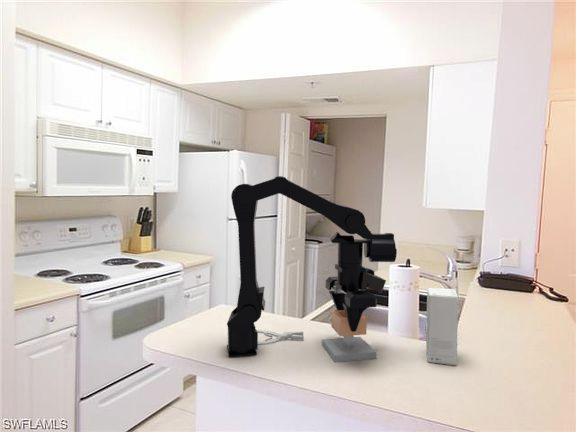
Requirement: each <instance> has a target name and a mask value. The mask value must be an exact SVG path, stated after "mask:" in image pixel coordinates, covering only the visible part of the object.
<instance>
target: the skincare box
mask: <svg viewBox="0 0 576 432" xmlns="http://www.w3.org/2000/svg"><path fill="white" fill-rule="evenodd" d="M456 291H457V290H456V289H454V288H440V287H438V288H437V287H427V292H426V298H427V299H426V356H427V357H426V358H427V362H428V363H434V364H441V365H450V366H457V364H458V324H459V323H458V321H459V319H458V316H459V314H458V313H459V296H458V294H457V292H456Z"/></svg>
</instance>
